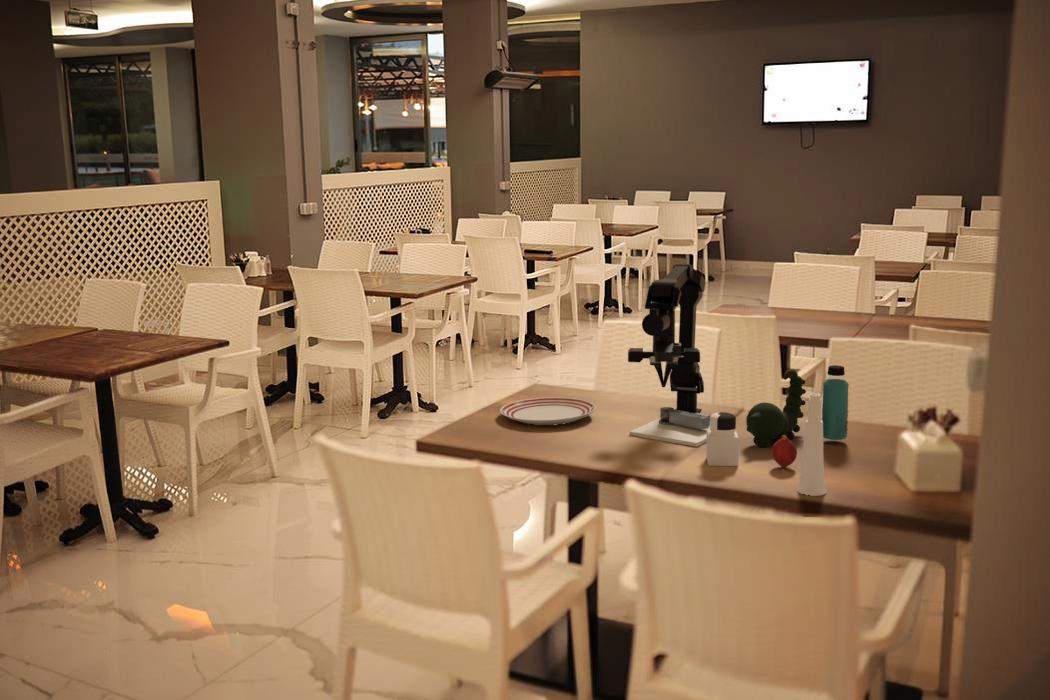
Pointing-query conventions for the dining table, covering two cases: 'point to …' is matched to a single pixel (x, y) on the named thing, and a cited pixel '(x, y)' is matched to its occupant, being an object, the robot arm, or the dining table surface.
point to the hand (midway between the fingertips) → (663, 387)
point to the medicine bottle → (722, 440)
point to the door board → (673, 432)
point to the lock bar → (684, 418)
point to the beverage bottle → (835, 405)
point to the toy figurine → (777, 414)
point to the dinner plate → (548, 410)
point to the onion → (784, 452)
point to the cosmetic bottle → (813, 451)
